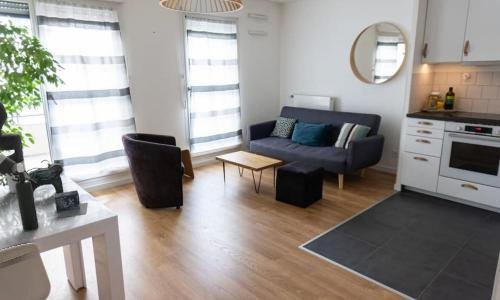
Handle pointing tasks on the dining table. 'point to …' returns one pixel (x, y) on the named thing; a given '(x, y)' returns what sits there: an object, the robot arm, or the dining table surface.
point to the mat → (74, 211)
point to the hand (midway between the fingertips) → (35, 184)
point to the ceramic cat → (48, 176)
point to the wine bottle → (26, 201)
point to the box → (67, 201)
